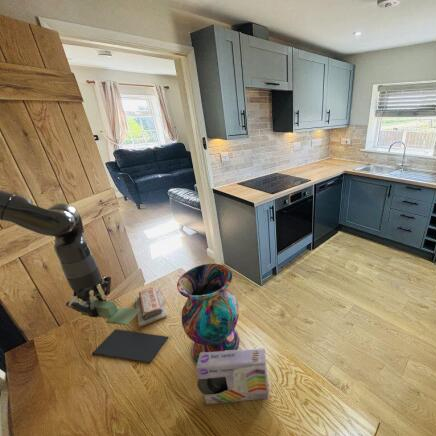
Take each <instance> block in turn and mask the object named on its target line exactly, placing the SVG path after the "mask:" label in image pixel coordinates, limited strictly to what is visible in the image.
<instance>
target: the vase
mask: <svg viewBox="0 0 436 436" xmlns="http://www.w3.org/2000/svg"><path fill="white" fill-rule="evenodd" d="M232 280H233V272H232V270H231V269H230V268H229V267H227V266H226V265H223V264H219V263H206V264H201V265H200V264H199V265H197V266H194V267H193V268H190V269H188V270H187V271H186V272H185V273H183V274H182V275H181V276H180V277H179V279H178V280H177V283H176V288H177V289H176V290H177V291H178V293H179V294H180V295H181V296H182V297H184V298H186V301H185V303H184V305H183V306H182V310H181V325H182V328H183V331H184V333H185V334H186V336H187V337H188V338H189V340H190V341H192V347H191V355H192V358H193V360H194V361H195V362H196V363H197V362H198V359H199V355H200V353H201V352H220V351H225V350H238V347H239V345H240V336H239V333H238V331H237V330H236V326H237V324H238V321H239V320H238V319H239V312H240V311H239V310H240V309H239V308H240V307H239V303H238V301H237V298H236V296H235V295H234V293H233V292H232V291H230V290H229V289H228V287H229V286H230V284H232Z"/></svg>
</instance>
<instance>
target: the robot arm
mask: <svg viewBox="0 0 436 436" xmlns="http://www.w3.org/2000/svg"><path fill="white" fill-rule="evenodd" d="M33 202H34V201H33V200H32V199H31V198H30V197H27V196H24V195H22V194H21V195H20V194H17V193H14V192H10V191H6V190H2V189H0V221H1V222H7V223H11V224H14V225H16V226H18V227H21V228H23V229H25V230H28V231H31V232H33V233H36V234H39V235H42V236H47V237H54V243H53V250H54V253H55V256H56V257H57V260H58V261H59V265H60V268H61V271H62V273H63V275H64V277H65V279H66V281H67V284H68V286H69V288H70V289H71V290H72V291H73V293H72V294H73V295H72V296H73V298H72V299H71V301H66V303H65V306H66V307H68V308H70V309H72V310H74V311H76V312H78V313H81V312H84V313H87V312H88V314H89V316H88V317H90V318H99V317H98V316H99V315H98V312H97V310H96V308H95V306H94V302H95V300H101V301H107V296H108V295H110V294H111V287H112V286H111V285H112V277H111V276H107V275H102V274H101V271H100V269H99V266H98V264H97V261H96V259H95V257H94V256H93V254H92V251H91V249H90V247H89V245H88V242H87V240H86V235H85V231H84V230H85V229H84V223H83V220H82V216H81V214H80V213H79V210H77V209H76V208H75V207H74V206H72V205H70V204H67V203H56V204H53V205H51V206H49V207H48V208H47V209H46V208H43V207H41V206H38V205H36V204H34V203H33ZM80 302H82V303H83V305H84V306H82V305H80Z"/></svg>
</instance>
